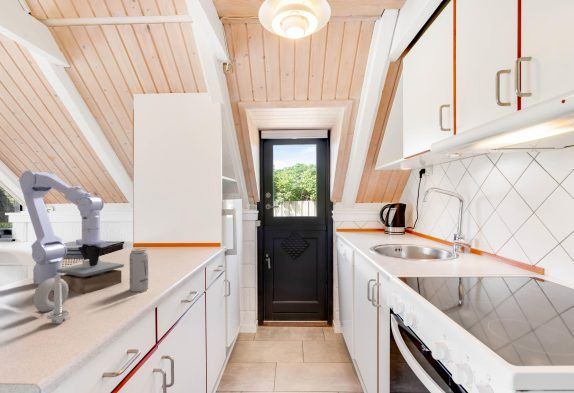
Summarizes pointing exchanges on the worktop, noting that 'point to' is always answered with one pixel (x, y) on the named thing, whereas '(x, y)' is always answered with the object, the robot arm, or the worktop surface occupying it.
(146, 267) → the energy drink can
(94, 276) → the cream block
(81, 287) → the storage box
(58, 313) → the screw
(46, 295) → the donut
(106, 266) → the lid
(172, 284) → the worktop surface
